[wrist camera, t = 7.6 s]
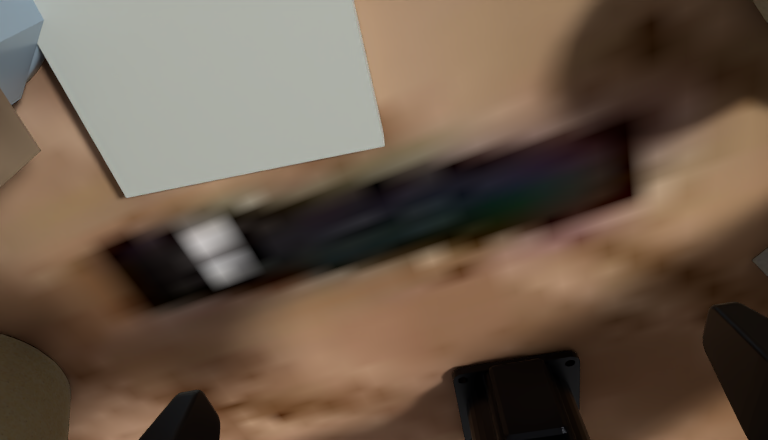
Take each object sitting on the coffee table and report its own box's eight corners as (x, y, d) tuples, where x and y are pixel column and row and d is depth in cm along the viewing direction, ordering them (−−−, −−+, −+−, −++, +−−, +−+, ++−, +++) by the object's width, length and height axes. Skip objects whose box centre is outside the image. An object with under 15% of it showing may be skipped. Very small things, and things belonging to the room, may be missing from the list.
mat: (383, 134, 20) (384, 146, 19) (135, 184, 21) (126, 197, 20) (309, -196, 14) (306, -200, 13) (-27, -108, 15) (-49, -106, 14)
